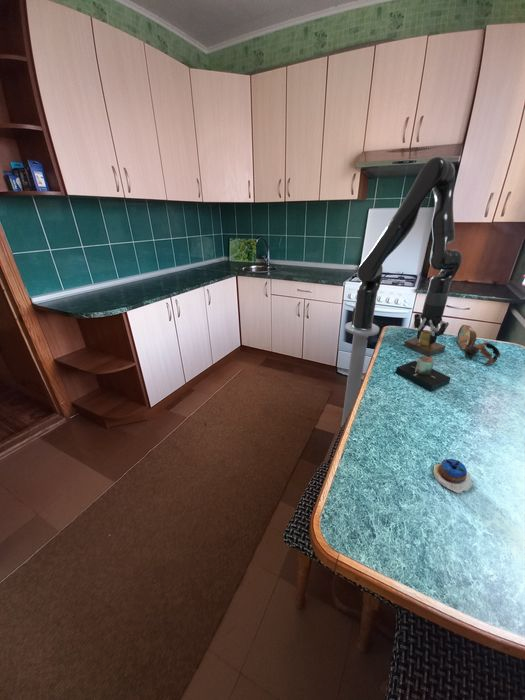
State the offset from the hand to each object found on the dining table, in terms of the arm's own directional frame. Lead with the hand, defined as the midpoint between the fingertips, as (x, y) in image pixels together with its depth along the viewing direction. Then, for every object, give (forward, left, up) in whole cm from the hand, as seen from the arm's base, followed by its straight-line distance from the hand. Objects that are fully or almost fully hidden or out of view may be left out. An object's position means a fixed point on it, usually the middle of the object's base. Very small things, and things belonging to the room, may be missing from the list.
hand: (425, 340), depth 123 cm
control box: (+15, -22, -4) cm, 27 cm away
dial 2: (+15, -22, -1) cm, 27 cm away
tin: (+7, +17, -4) cm, 19 cm away
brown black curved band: (+17, +9, -4) cm, 20 cm away
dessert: (+46, -54, -4) cm, 71 cm away
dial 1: (0, 0, -1) cm, 1 cm away
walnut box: (0, 0, -4) cm, 4 cm away
